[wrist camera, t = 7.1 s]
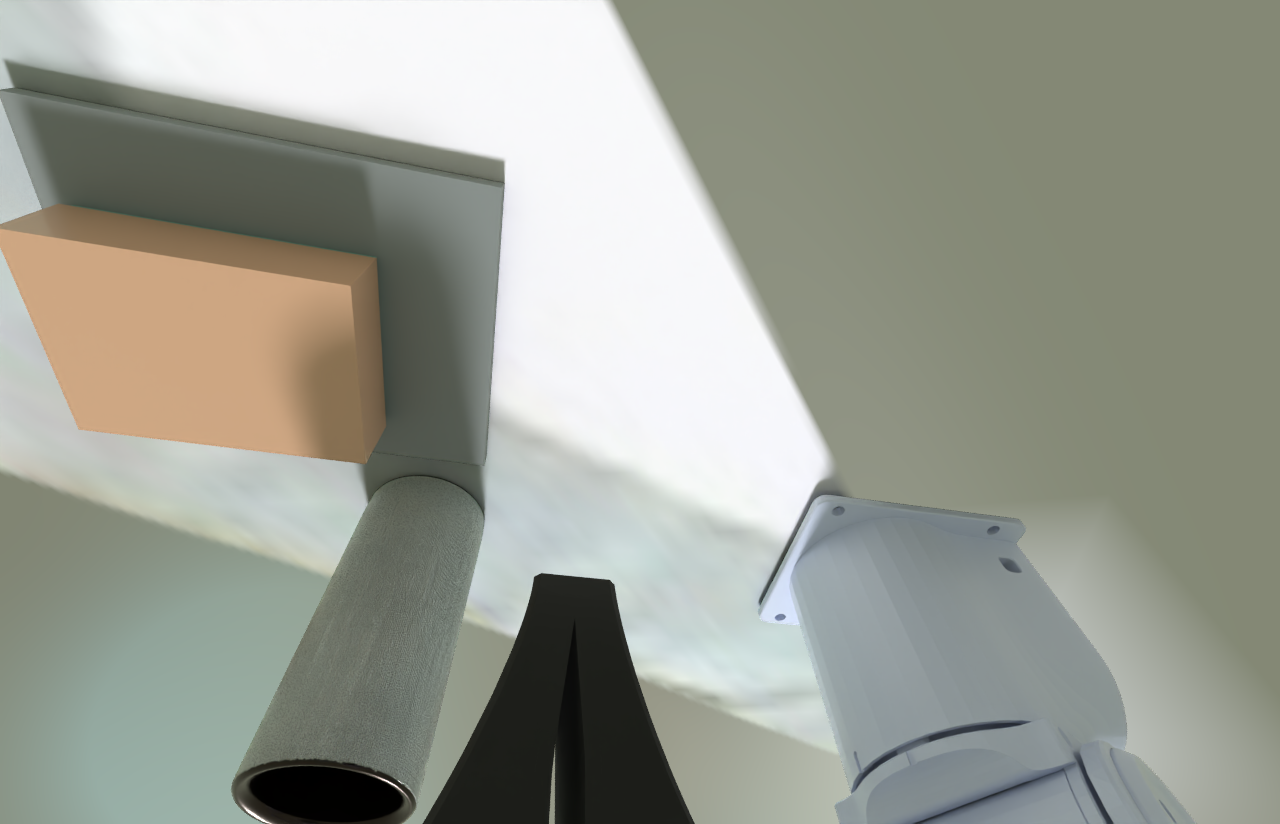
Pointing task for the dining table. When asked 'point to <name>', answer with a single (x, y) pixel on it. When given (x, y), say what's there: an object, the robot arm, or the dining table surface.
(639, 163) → the dining table surface
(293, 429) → the tile
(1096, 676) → the robot arm
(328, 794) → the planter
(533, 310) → the dining table surface
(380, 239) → the mat
